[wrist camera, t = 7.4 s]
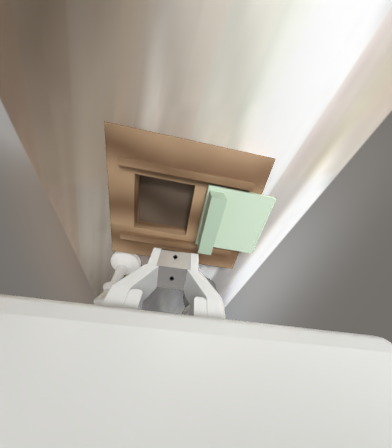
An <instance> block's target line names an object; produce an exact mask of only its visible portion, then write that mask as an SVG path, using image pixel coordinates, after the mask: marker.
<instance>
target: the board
mask: <svg viewBox="0 0 392 448" xmlns="http://www.w3.org/2000/svg"><path fill="white" fill-rule="evenodd" d="M104 123H105V139H106V155H107V171H108V187H109V203H110V219H111V235H112V251H118V252H125V253H131V254H138V255H145V256H151V253H152V251H153V248H154V247H155V248H161V249H167V250H173V251H179V252H186V253H195V254H198V259H199V264H204V265H211V266H217V267H224V268H231V269H232V268H233V266H234V263H235V261H236V258H237V255H238V253H239V251H234V250H228V249H222V248H216V247H213V250H212V253H211V255H207V254H200V253H198V245H197V244H195V243H196V237H197V232H198V228H199V223H200V219H201V215H202V210H203V206H204V202H205V197H206V193H207V188H208V184H211V185H216V186H222V187H227V188H232V189H237V190H242V191H247V192H252V193H257V194H262V192H263V190H264V187H265V184H266V182H267V179H268V177H269V174H270V172H271V169H272V167H273V164H274V162H275V159H274V158H270V157H265V156H260V155H256V154H251V153H247V152H242V151H238V150H233V149H228V148H224V147H219V146H215V145H210V144H205V143H201V142H196V141H192V140H187V139H183V138H178V137H173V136H169V135H164V134H160V133H155V132H151V131H146V130H141V129H137V128H132V127H128V126H123V125H119V124H114V123H109V122H105V121H104Z"/></svg>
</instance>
